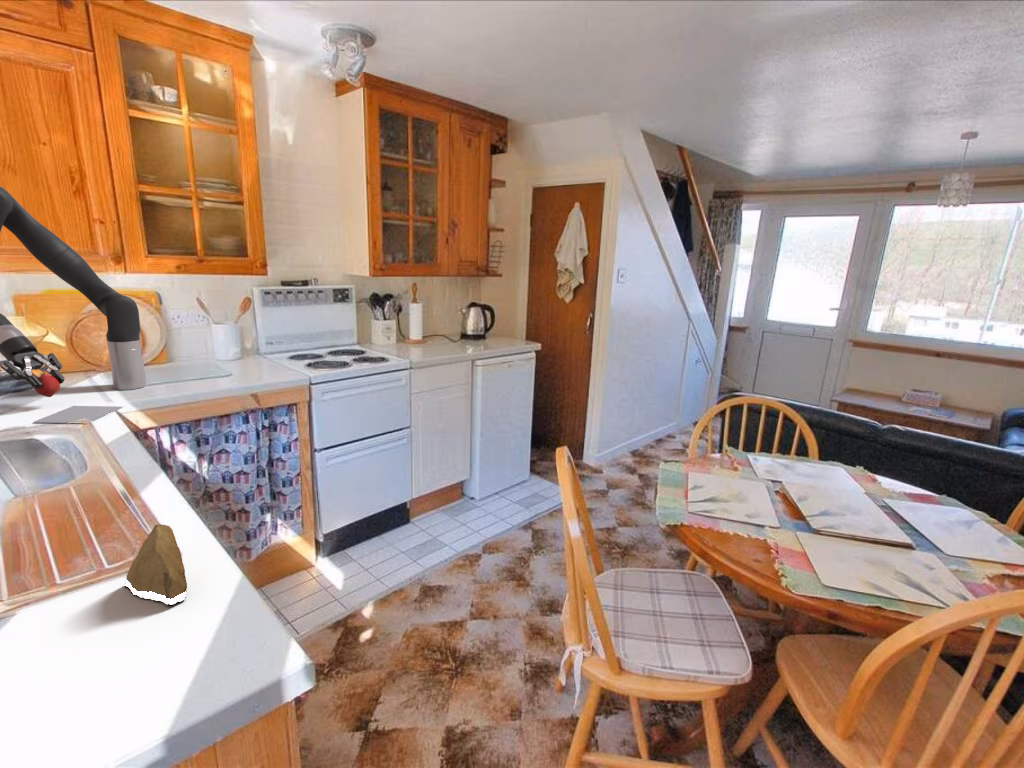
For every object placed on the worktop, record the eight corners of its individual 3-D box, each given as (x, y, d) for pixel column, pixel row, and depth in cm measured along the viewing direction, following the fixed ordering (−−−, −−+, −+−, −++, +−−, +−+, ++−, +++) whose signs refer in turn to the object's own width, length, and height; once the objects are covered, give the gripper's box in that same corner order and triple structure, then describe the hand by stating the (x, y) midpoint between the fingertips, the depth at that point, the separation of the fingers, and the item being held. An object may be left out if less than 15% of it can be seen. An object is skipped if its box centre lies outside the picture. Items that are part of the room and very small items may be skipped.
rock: (207, 585, 75) (203, 545, 83) (160, 559, 70) (161, 518, 78) (142, 639, 73) (144, 592, 80) (89, 615, 68) (96, 568, 75)
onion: (46, 400, 151) (41, 375, 149) (31, 398, 152) (26, 373, 150) (66, 395, 156) (61, 371, 154) (51, 393, 157) (47, 369, 155)
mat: (73, 406, 156) (73, 405, 156) (122, 407, 158) (122, 406, 158) (32, 423, 141) (32, 422, 141) (86, 424, 143) (86, 422, 142)
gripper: (-12, 339, 143) (31, 382, 145) (42, 331, 157) (80, 371, 158) (-22, 355, 146) (19, 398, 147) (32, 346, 159) (69, 386, 160)
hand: (51, 384), depth 153 cm, fingers closed on onion, 6 cm apart
